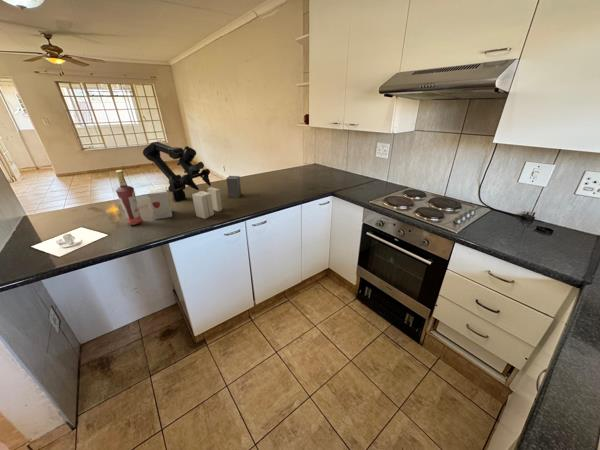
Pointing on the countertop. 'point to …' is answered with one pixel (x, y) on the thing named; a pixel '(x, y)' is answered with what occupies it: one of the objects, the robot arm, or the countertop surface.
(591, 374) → the countertop surface
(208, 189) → the white book
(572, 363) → the countertop surface
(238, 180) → the grey book
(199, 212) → the white book
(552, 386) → the countertop surface
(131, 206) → the liquor
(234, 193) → the grey book
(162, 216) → the white product box
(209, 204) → the white book
